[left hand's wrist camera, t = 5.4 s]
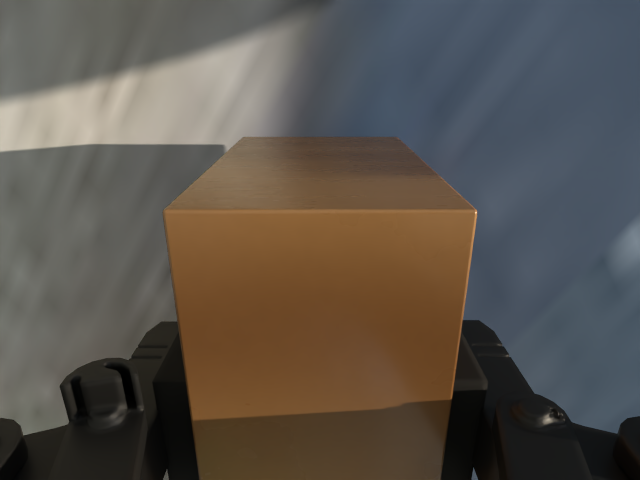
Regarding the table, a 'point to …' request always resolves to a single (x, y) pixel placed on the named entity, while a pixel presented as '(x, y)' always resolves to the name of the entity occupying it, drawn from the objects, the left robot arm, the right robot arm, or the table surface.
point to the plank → (319, 309)
